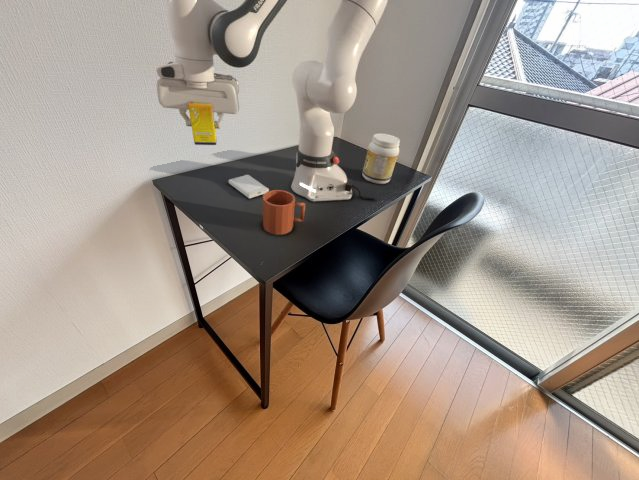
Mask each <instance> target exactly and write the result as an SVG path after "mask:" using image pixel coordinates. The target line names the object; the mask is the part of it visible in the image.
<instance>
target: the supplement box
mask: <svg viewBox="0 0 639 480" xmlns="http://www.w3.org/2000/svg"><path fill="white" fill-rule="evenodd" d="M188 107H189V110H188V113H189V118H190V119H191V125H192V127H191V131H192V137H193V142H194V145H195V146H217V132H216V129H215V127H214V126H215V125H214V122H215V114H214V113H215V112H212V105H211V104H203V103H192V102H189V103H188Z"/></svg>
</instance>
